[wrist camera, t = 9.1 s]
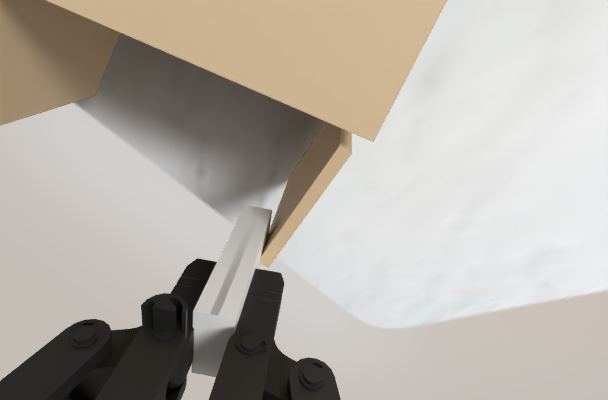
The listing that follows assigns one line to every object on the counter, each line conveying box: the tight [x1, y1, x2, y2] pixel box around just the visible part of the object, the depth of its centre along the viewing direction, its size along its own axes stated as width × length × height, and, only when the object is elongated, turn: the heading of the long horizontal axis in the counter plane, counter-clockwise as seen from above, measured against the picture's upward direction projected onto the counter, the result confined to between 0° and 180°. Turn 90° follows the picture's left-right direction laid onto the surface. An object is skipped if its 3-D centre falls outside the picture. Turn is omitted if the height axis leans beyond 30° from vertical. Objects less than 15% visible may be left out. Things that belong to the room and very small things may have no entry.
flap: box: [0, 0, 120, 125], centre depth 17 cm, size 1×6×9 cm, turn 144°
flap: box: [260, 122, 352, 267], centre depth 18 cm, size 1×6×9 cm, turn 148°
